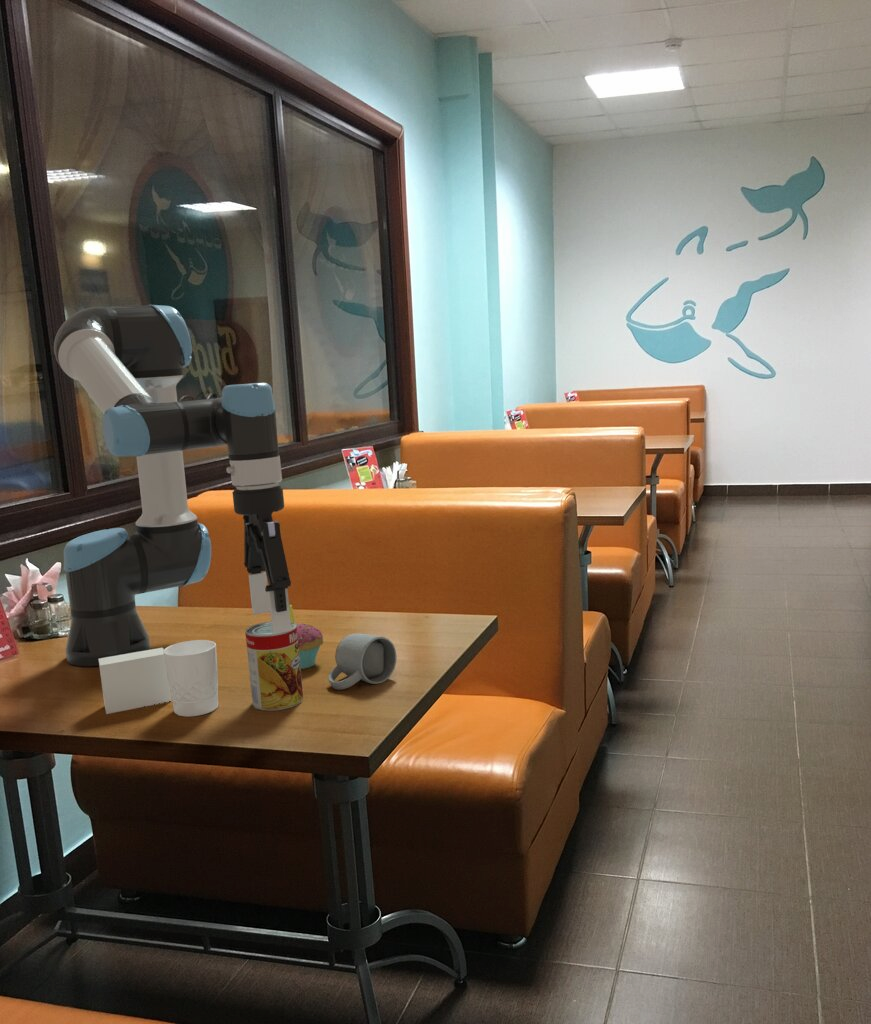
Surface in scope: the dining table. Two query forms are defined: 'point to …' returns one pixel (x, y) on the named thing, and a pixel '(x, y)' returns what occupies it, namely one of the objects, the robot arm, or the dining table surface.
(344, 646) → the ceramic mug
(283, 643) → the canned food
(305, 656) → the cupcake
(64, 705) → the dining table surface
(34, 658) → the dining table surface
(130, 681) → the off-white rectangular block
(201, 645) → the white cup
